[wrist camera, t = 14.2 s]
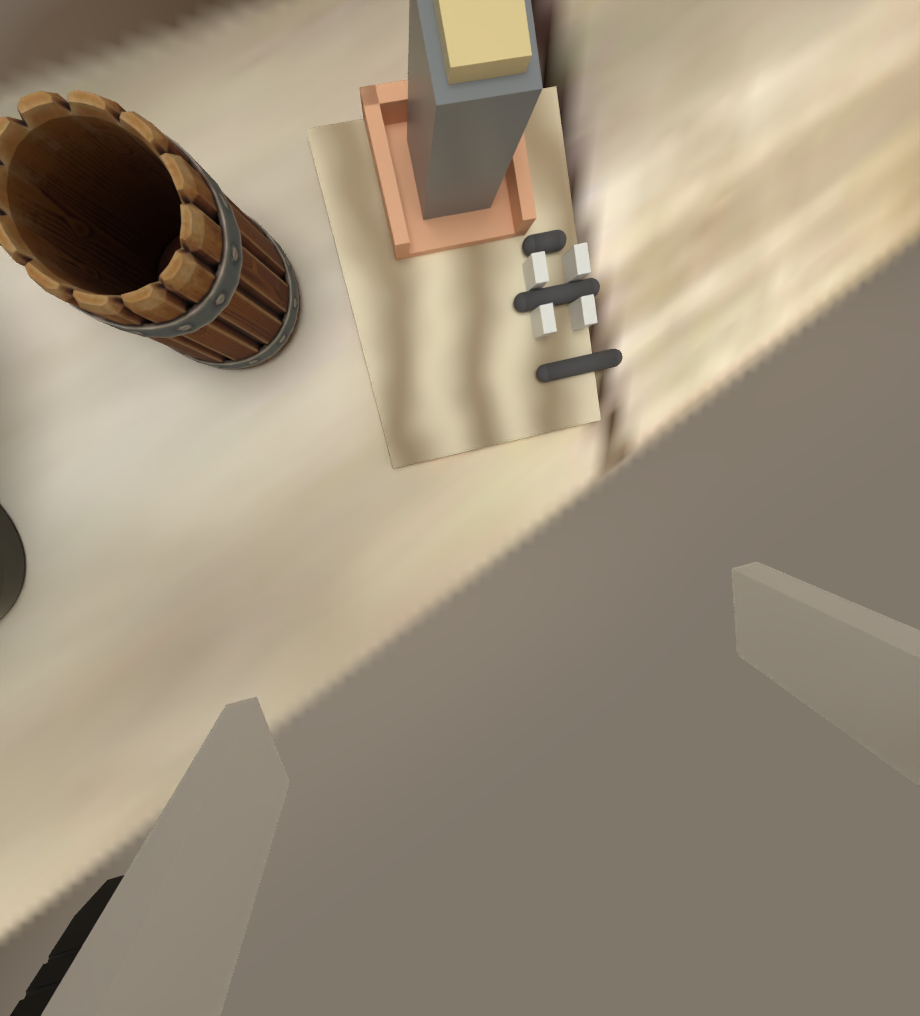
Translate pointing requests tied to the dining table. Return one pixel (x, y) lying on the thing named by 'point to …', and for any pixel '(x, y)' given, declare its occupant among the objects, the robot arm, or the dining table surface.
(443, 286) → the board
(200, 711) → the dining table surface
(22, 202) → the mug
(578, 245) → the cable clips
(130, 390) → the dining table surface
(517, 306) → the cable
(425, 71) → the grey tall block
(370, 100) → the end holder
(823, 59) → the dining table surface
